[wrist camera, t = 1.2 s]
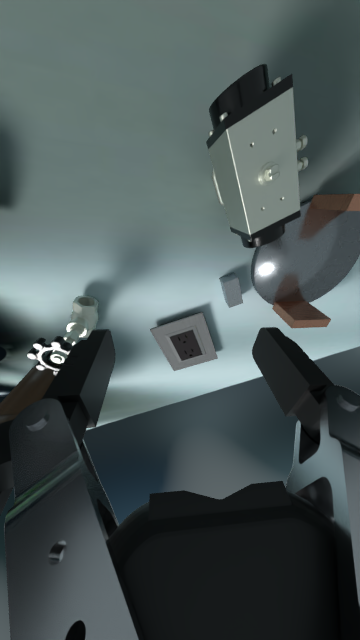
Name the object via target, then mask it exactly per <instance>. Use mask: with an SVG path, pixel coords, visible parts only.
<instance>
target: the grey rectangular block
mask: <svg viewBox="0 0 360 640" xmlns="http://www.w3.org/2000/svg"><path fill="white" fill-rule="evenodd" d="M219 279H220V282H221V286H222V290H223V294H224V298H225V301H226V303H227V305H228V306H229V308H230V307H233V306H236V305H239V304H241V303H243V300H242V295H241V290H240V285H239V279H238V277H237V276H236V275H235V274H234V273H232V274H229V275H227V276H224V277H221V278H219Z"/></svg>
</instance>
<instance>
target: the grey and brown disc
mask: <svg viewBox="0 0 360 640" xmlns="http://www.w3.org/2000/svg"><path fill="white" fill-rule="evenodd" d="M300 212H301V217H299V218H297V219H295V220H293V221H291V222H289V223H287V224H285V233H284V234H283V235H282V236H281V237H280V238H278V239H277V240H275V241H273V242H271V243H269V244H266V245H263V246H260V247H257V248H256V250H255V253H254V256H253V259H252V265H251V279H252V283H253V286H254V288H255V290H256V291H257V293H258V294H259V295H260V296H261V297H262V298H263V299H264V300H265V301H267V302H268V303H270V304H272V305H274V306H273V310H274V311H275V312H276V313H277V314H278V315H279V316H280V317H281V318H282V319H283V320H284V321H285V322H286V323H287V324H288V325H289V326H290V327H291V328H309V327H327V325H328V324H329V322H330V320H331V319H330V318H329V317H327V316H326V315H325V314H323V313H322V312H320V311H319V310H318V309H316V308H315V307H313V306H312V305H311V304H309V302H312V301H314V300H316V299H318V298H320V297H321V296H323V295H325V294H326V293H327V292H329V291H330V290H331V289H333V288H334V287H335V286H336V285H337V284H338V283H339V282H340V281H341V280H342V279H343V278H344V277H345V276H346V275H347V274H348V272H349V271H350V270H351V268H352V267H353V265H354V264H355V262H356V260H357V259H358V257H359V255H360V194H331V195H314V196H313V199H312V200H309V201H306V202H303V203H301V204H300Z"/></svg>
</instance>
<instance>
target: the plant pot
mask: <svg viewBox="0 0 360 640" xmlns="http://www.w3.org/2000/svg"><path fill="white" fill-rule="evenodd" d="M58 365H62V364H58ZM53 371H54V370H52V369H50V368H46V369H45V370H38V369H37V368H36V366H35V367H34V368H32V369H31V370H30V371H29V372H28V374H27V375H26V376H25V377H24V378H23V379H22V380H21V381H20V382H19V383H18V385H17V386H16V387H15V388H14V389H13V390H12V391H11V392H10V393H9V394H8V396H7V397H6V398H5V399H4V400H3V401H2V402H1V403H0V423H3V422H7V421H10V420H12V419H15V418H16V416H17V415H18V414H19V413H20V412H21V411H22V410H23V409H25V408H26V407H27V406H29V405H31V404H32V403H34V402H36V401H39V400H41V399H42V397H43V396H44V394H45V393H46V391H47V389H48V388H49V386H50V384H51V383H52V381H53V379H54V378H55V375H53Z"/></svg>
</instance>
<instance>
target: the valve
mask: <svg viewBox="0 0 360 640" xmlns="http://www.w3.org/2000/svg"><path fill="white" fill-rule="evenodd" d="M98 304H99V302H98V301H97V300H96V299H95V298H93V297H90V296H78V297H76V298H75V300H74V301H73V311H72V314H71V321H70V322H69V324H68V325H67V327H66V328H67V331H68V332H67V333H66V334H65V336H64V337H60V336H57V337H55V338H54V340H53V341H52V342H51V344H45V343H44V342H45V341H46V339H44V338H38V339H37V340H36V341H35V342H34V344H33V347H34V348H32V349H31V350H30V351H29V353H28V354H27V357H28V358H30V359H38V360H39V362H38V364H37V365H36V368H37V369H38V370H45V369H46V368H50V369H52V370H54V371H53V375H55V376H56V374H57V373H58V371H59V369H60V368H61V366H63V365H58V364H55V363H63V362H64V361H65V359H66V358H67V356H68V354H69V353H70V351H71V349H72V348H73V347H74V346H75V345H76V343H77V342H78V340H79V338H87V337H89V335H90V333H91V331H92V330H96V324H97V322H98V319H99V316H98V312H97V310H98ZM36 349H38V350H39V351H36ZM48 350H51V351H49V352H48V353H46V354H45V352H46V351H48ZM50 357H51V360H52V361H53V362H55V363H52V362H51V361H49V360H48V359H49V358H50Z"/></svg>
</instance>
